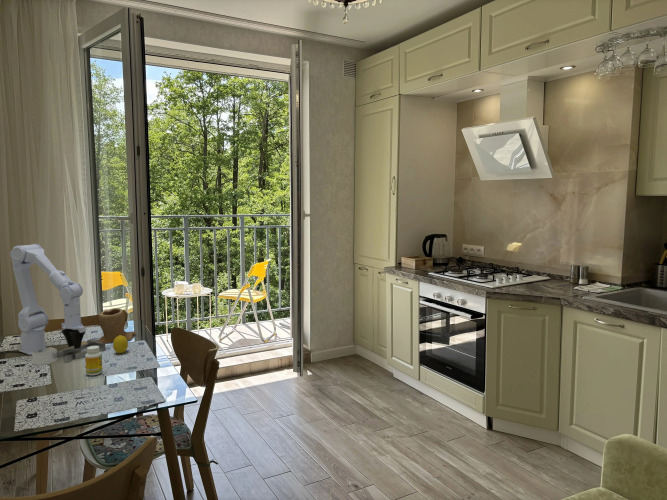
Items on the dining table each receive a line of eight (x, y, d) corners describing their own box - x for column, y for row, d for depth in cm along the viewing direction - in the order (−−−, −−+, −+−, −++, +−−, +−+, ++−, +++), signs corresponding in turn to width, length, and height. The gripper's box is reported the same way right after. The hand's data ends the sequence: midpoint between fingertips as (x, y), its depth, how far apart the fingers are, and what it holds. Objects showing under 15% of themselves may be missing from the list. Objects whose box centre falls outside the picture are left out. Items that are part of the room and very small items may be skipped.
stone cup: (97, 348, 204) (95, 313, 202) (98, 340, 214) (97, 307, 213) (136, 343, 210) (134, 310, 208) (135, 336, 220) (134, 304, 219)
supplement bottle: (86, 371, 175) (84, 346, 174) (102, 369, 177) (101, 344, 176) (85, 376, 170) (84, 350, 169) (102, 374, 172) (101, 348, 171)
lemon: (122, 356, 192) (121, 337, 191) (110, 355, 193) (109, 336, 192) (131, 352, 197) (130, 333, 196) (119, 351, 198) (118, 332, 198)
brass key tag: (73, 346, 205) (73, 343, 205) (77, 345, 208) (77, 341, 207) (84, 347, 204) (84, 344, 204) (89, 346, 206) (89, 342, 206)
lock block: (32, 364, 183) (31, 351, 183) (51, 359, 189) (50, 346, 189) (38, 366, 181) (37, 353, 181) (57, 361, 187) (56, 348, 186)
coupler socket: (48, 357, 191) (48, 348, 191) (89, 346, 205) (89, 338, 205) (65, 363, 184) (65, 354, 184) (107, 351, 198) (106, 343, 198)
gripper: (53, 313, 193) (55, 346, 194) (71, 318, 184) (73, 352, 186) (70, 310, 198) (72, 342, 200) (89, 314, 190) (91, 348, 192)
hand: (74, 347), depth 193 cm, fingers open, 4 cm apart
